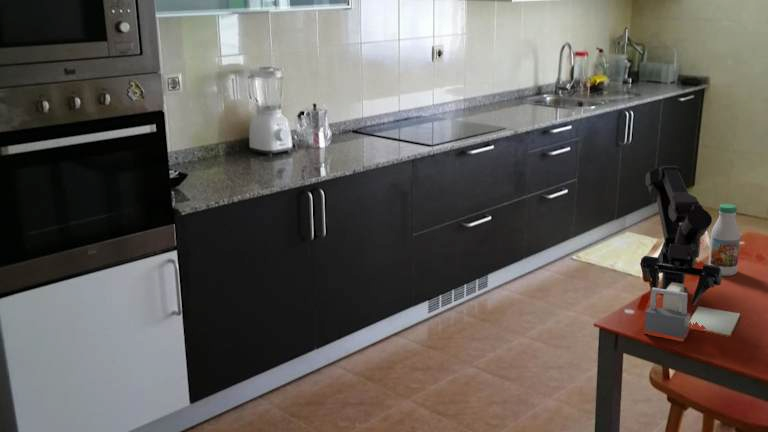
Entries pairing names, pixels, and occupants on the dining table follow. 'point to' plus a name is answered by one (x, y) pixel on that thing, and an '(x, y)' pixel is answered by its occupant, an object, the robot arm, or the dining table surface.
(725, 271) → the milk bottle
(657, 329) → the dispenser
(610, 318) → the dining table surface
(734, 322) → the mat
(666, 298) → the white rectangular block
